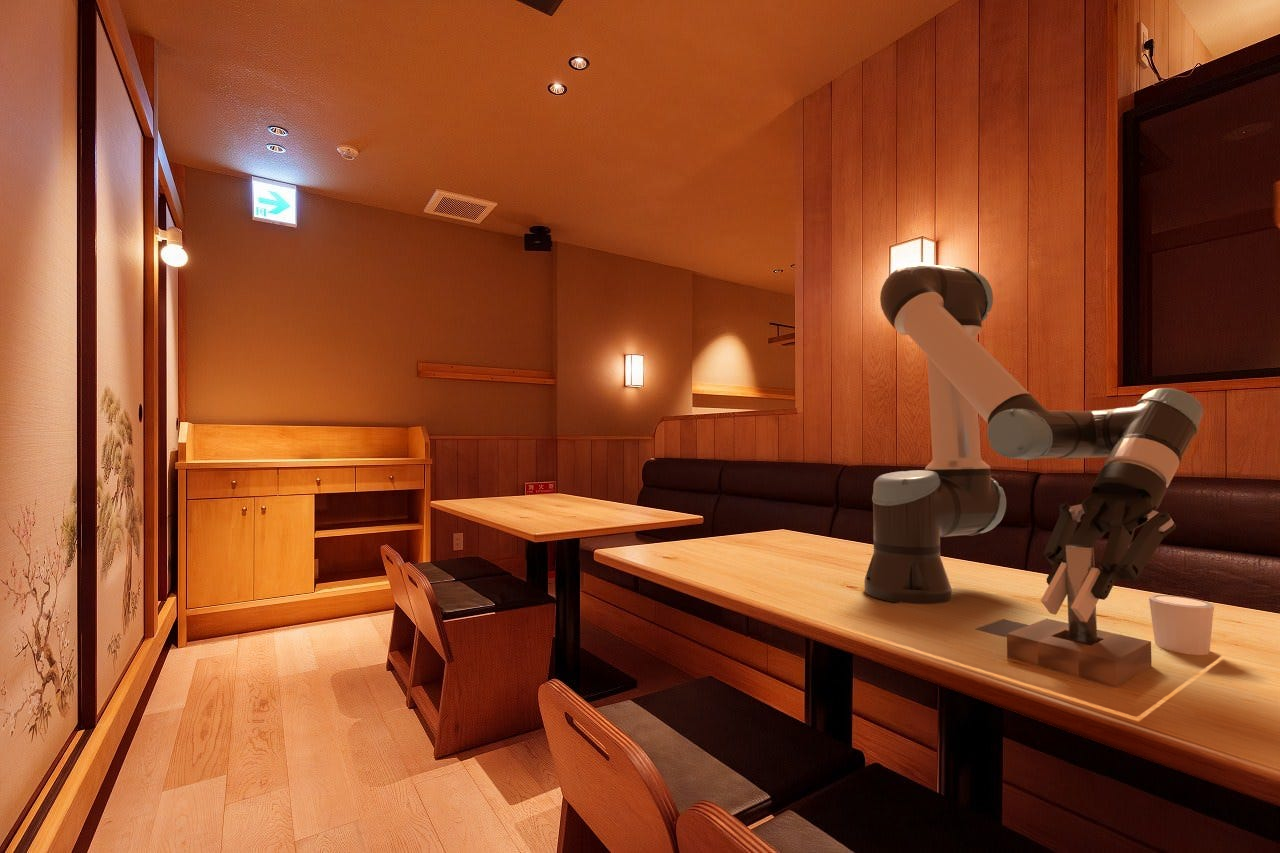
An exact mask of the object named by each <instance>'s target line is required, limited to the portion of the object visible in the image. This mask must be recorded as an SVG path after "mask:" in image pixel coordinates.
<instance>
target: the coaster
mask: <svg viewBox="0 0 1280 853" xmlns="http://www.w3.org/2000/svg"><path fill="white" fill-rule="evenodd" d="M1028 625H1029V624H1026V623H1022V622H1019V621H1018V622H1017V621H1013V620H1008V619H1004V618H1002V619H999V620H997V621H994V622H991V623H989V624H985V625H983V626H980V627H977V628H975V630H977V631H980V632H984V633H988V634H991V635H996V636H1000V637H1004V638H1007V633H1010V632H1012V631H1015V630H1018V629H1020V628H1023V627H1026V626H1028Z"/></svg>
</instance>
